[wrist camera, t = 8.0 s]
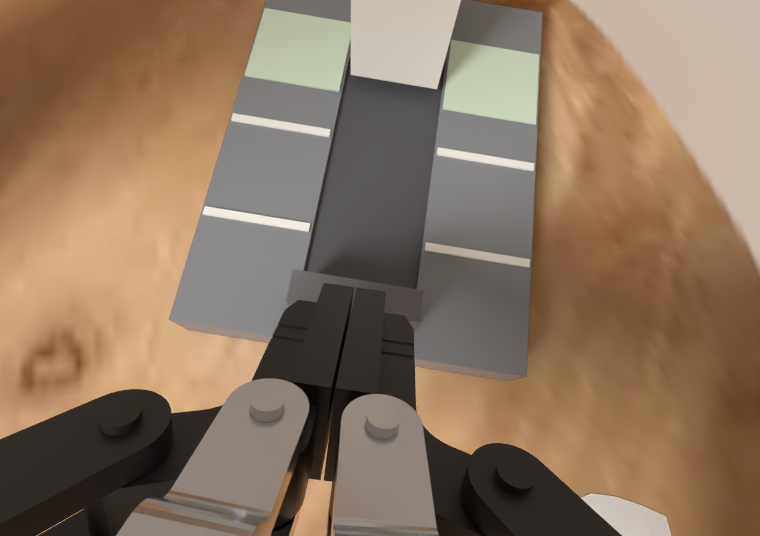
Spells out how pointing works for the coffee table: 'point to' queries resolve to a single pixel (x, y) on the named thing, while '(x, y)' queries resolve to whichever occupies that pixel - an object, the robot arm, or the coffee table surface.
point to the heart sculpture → (628, 516)
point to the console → (377, 188)
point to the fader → (401, 39)
